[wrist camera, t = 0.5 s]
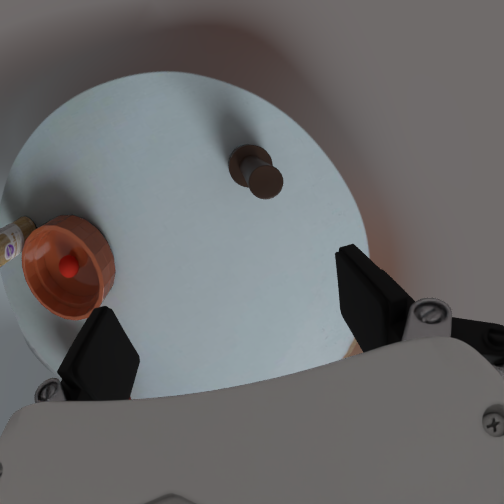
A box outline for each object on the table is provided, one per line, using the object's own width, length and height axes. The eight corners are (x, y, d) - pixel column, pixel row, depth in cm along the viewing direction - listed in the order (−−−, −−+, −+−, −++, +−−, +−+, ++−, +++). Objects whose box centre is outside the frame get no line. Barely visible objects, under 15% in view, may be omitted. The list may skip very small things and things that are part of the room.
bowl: (28, 230, 31) (9, 243, 26) (94, 200, 31) (76, 210, 26) (64, 307, 36) (50, 326, 31) (131, 290, 36) (120, 310, 31)
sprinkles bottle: (40, 244, 32) (-15, 288, 19) (20, 245, 31) (-34, 287, 19) (34, 213, 30) (-27, 249, 18) (14, 216, 30) (-45, 251, 17)
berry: (61, 254, 32) (51, 263, 29) (76, 249, 32) (66, 258, 29) (70, 273, 33) (61, 283, 31) (85, 268, 33) (76, 279, 31)
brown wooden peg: (224, 149, 30) (222, 157, 16) (261, 140, 30) (292, 140, 16) (233, 186, 32) (240, 223, 18) (271, 176, 32) (306, 206, 18)
